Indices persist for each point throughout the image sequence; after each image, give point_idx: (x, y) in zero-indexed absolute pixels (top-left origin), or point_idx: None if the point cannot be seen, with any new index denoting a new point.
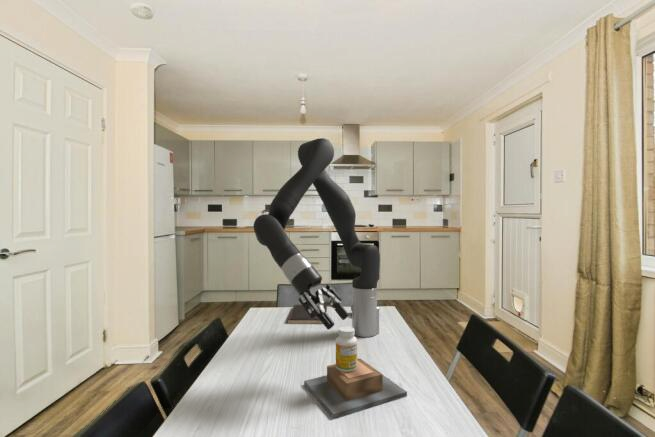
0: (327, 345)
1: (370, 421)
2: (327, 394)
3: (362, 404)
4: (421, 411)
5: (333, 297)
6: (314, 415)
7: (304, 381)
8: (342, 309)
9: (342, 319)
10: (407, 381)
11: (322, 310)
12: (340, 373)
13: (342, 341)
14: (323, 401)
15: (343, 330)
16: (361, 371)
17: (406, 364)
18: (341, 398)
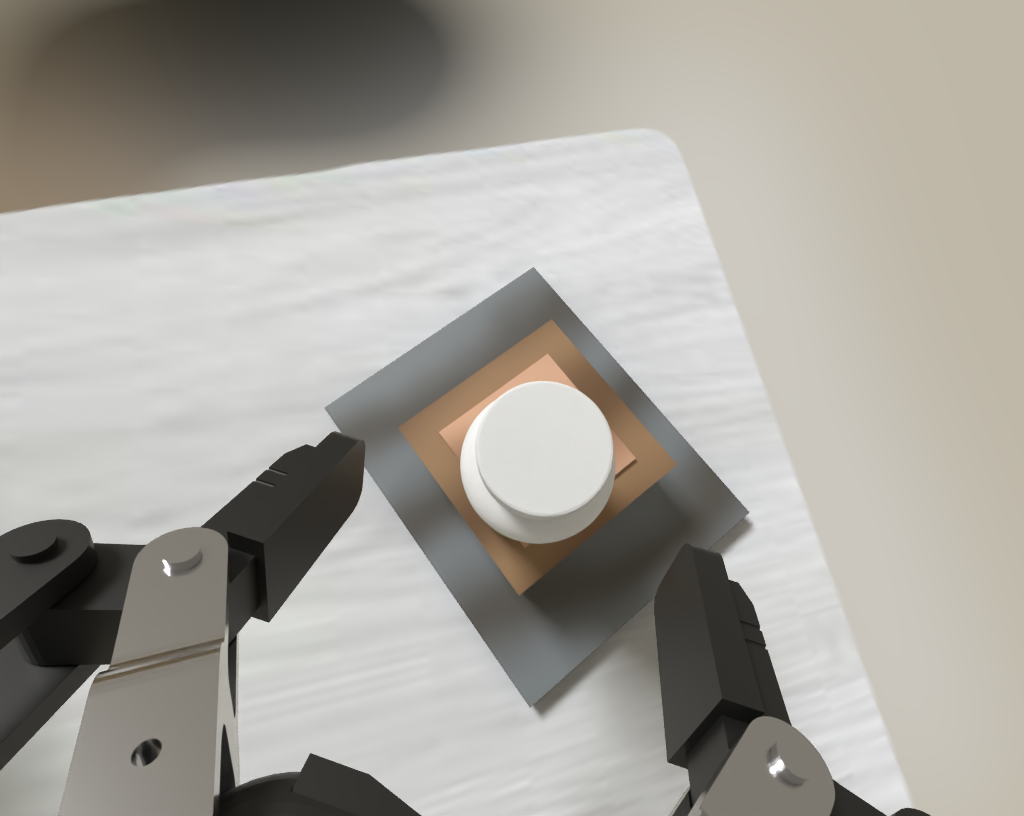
0: None
1: (714, 389)
2: (624, 562)
3: (657, 414)
4: (615, 241)
5: (218, 682)
6: None
7: (531, 704)
8: (312, 498)
9: (354, 506)
10: (426, 267)
11: (809, 763)
12: None
13: (608, 481)
14: None
15: (589, 468)
16: None
17: (276, 261)
18: (639, 498)
